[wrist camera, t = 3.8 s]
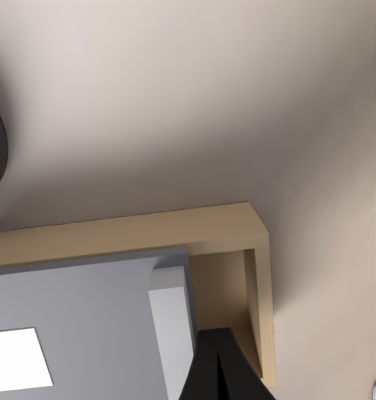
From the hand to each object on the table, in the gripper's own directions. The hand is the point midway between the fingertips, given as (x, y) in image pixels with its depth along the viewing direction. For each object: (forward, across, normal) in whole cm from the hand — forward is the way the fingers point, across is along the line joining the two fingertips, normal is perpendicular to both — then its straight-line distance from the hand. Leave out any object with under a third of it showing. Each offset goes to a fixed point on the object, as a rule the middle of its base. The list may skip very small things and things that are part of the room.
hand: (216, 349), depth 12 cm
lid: (+1, +8, 0) cm, 8 cm away
